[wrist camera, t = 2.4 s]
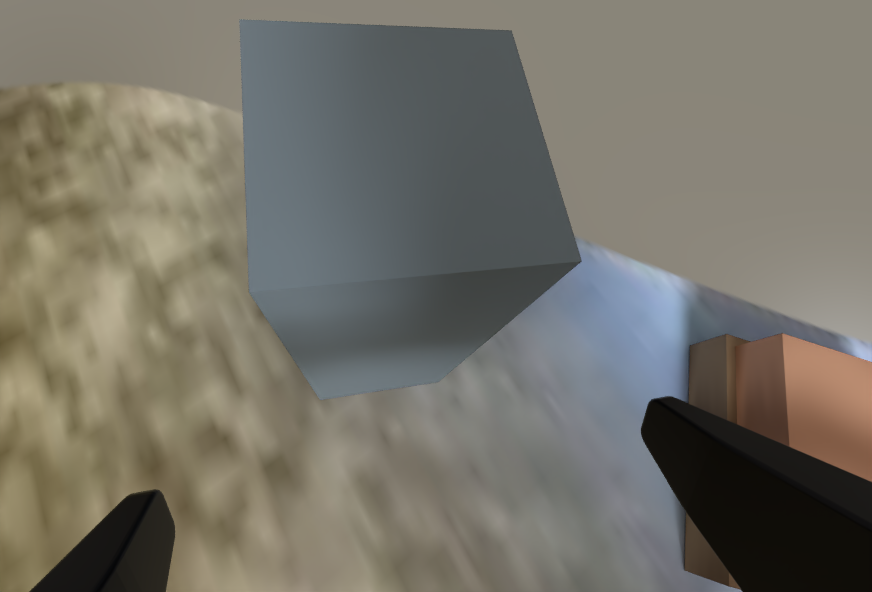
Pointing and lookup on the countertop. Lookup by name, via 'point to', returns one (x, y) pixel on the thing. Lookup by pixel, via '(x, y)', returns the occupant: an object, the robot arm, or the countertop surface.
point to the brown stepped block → (782, 408)
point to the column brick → (393, 197)
